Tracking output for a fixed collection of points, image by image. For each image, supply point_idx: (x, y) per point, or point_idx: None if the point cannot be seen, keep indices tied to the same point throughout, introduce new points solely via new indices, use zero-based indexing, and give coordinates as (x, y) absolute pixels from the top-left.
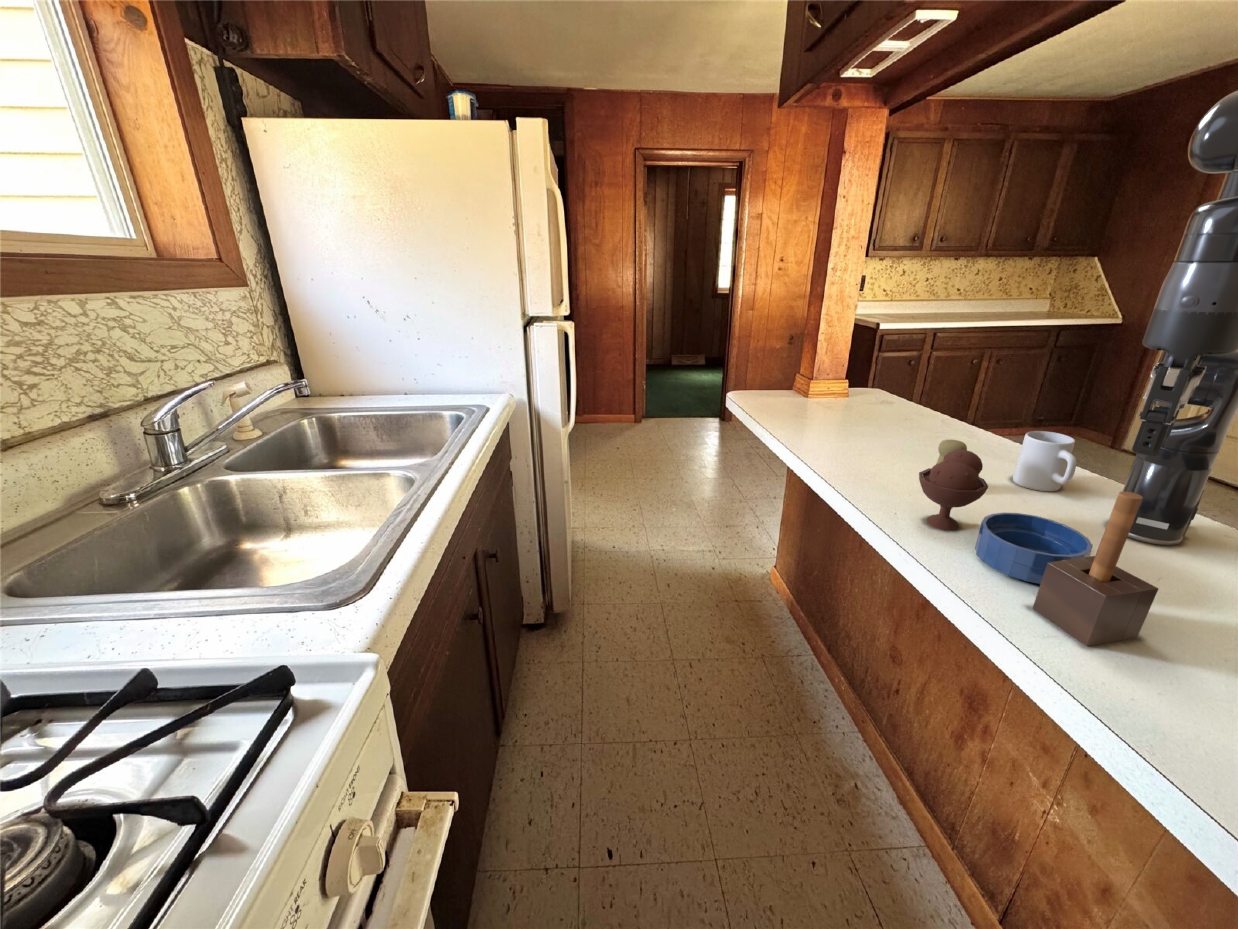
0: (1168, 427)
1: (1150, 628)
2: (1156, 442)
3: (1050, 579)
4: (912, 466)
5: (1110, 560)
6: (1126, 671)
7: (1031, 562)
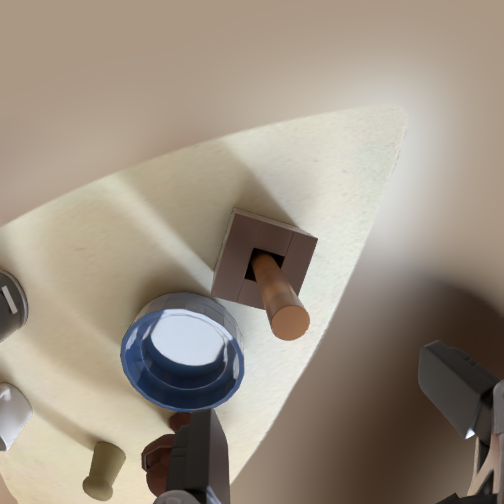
0: (490, 382)
1: (199, 207)
2: (474, 359)
3: None
4: None
5: (279, 268)
6: (307, 189)
7: (236, 334)
